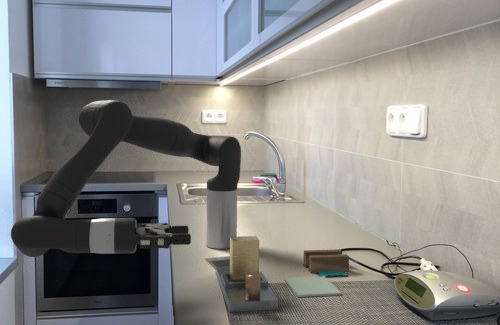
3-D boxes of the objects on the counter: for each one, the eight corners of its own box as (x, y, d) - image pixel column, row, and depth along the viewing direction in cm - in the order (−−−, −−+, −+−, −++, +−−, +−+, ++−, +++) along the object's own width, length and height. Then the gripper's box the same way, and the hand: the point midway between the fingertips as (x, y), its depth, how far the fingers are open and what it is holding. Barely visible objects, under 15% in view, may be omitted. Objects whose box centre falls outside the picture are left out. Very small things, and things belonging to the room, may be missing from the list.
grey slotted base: (215, 274, 130) (215, 246, 129) (255, 272, 132) (255, 245, 131) (229, 312, 105) (230, 278, 105) (278, 309, 107) (278, 276, 106)
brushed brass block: (229, 279, 120) (230, 236, 119) (255, 278, 121) (256, 236, 120) (232, 285, 116) (232, 240, 115) (258, 284, 117) (259, 240, 116)
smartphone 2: (329, 258, 144) (349, 274, 130) (329, 261, 144) (349, 277, 130) (303, 259, 143) (321, 276, 128) (303, 262, 143) (321, 279, 128)
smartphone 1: (252, 273, 132) (252, 270, 132) (221, 276, 129) (221, 274, 129) (233, 258, 146) (233, 255, 146) (204, 260, 143) (204, 258, 143)
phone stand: (303, 265, 139) (303, 250, 139) (339, 263, 141) (339, 249, 140) (311, 273, 132) (311, 257, 132) (348, 271, 134) (349, 256, 133)
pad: (284, 280, 126) (284, 278, 126) (324, 278, 128) (324, 276, 128) (297, 297, 114) (297, 294, 114) (341, 295, 116) (341, 292, 116)
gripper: (110, 225, 105) (192, 224, 108) (116, 212, 119) (187, 212, 121) (110, 261, 105) (191, 259, 108) (115, 245, 119) (187, 243, 122)
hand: (189, 234), depth 115 cm, fingers open, 8 cm apart
